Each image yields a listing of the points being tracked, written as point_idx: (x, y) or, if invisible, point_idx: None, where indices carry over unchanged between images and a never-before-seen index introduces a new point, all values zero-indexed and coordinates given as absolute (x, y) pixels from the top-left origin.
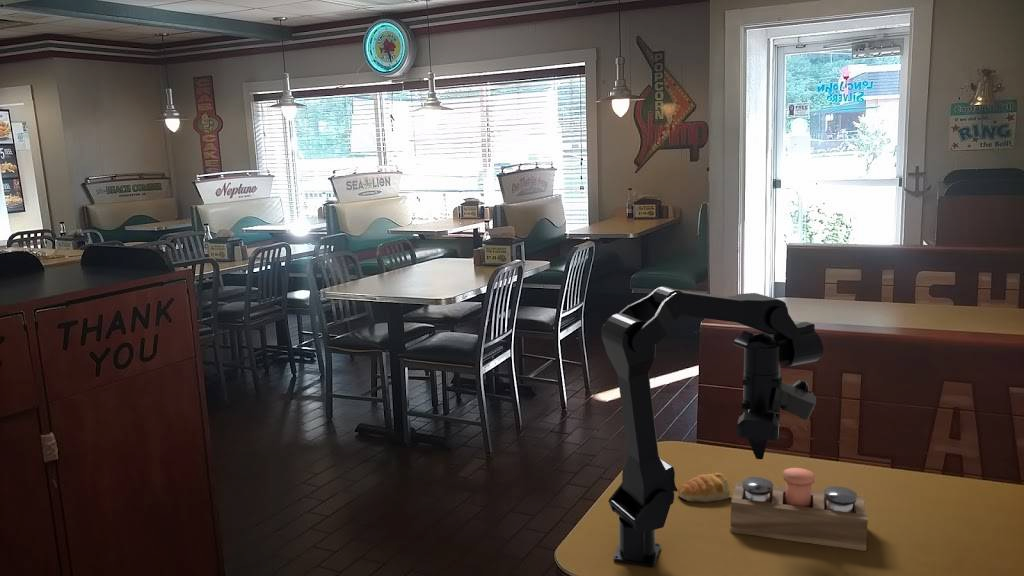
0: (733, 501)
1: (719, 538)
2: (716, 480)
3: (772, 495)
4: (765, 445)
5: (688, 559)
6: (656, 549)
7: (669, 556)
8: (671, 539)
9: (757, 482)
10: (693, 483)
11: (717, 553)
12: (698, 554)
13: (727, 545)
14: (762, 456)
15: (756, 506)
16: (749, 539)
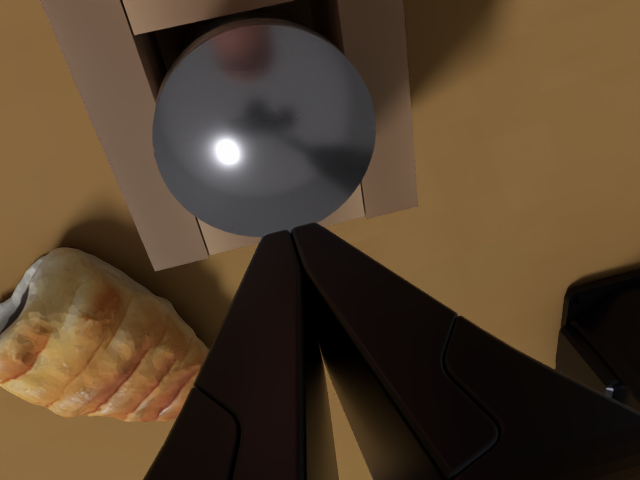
0: (406, 198)
1: (449, 154)
2: (81, 345)
3: (220, 15)
4: (445, 308)
5: (620, 192)
6: (606, 290)
7: (610, 246)
8: (505, 282)
9: (251, 150)
10: (155, 396)
11: (563, 122)
12: (583, 177)
13: (495, 109)
14: (334, 239)
15: (404, 71)
16: (416, 40)
